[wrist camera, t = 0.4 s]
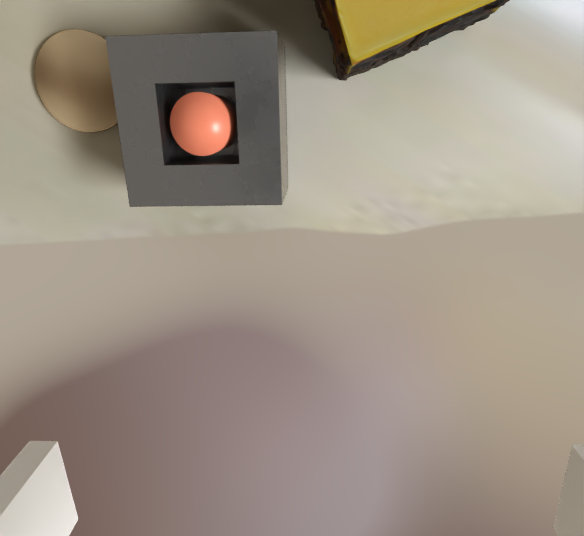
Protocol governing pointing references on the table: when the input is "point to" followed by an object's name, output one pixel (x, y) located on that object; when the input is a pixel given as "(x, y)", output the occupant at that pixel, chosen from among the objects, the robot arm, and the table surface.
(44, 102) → the coaster
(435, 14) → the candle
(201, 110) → the orange ball
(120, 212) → the table surface
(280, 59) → the box
